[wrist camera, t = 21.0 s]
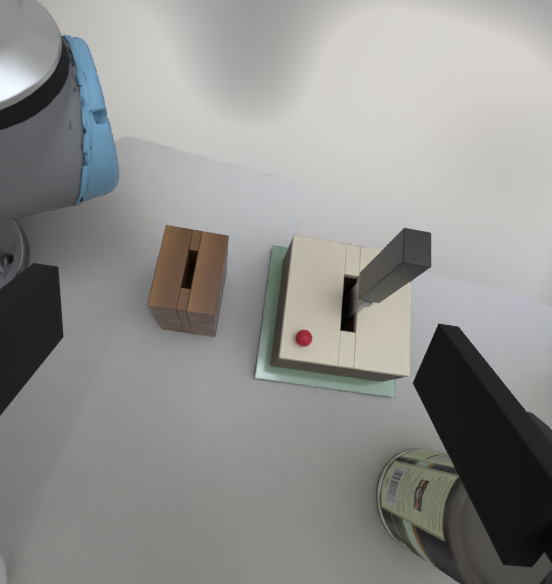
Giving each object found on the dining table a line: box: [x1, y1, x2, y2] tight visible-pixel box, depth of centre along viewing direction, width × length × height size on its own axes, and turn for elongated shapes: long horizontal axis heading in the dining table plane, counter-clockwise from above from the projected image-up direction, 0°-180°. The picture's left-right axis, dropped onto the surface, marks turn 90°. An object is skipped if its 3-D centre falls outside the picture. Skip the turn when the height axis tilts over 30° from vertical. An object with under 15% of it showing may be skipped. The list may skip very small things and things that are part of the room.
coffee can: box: [377, 449, 552, 584], centre depth 36 cm, size 10×10×14 cm
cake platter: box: [254, 246, 395, 398], centre depth 47 cm, size 16×16×1 cm
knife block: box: [147, 225, 229, 337], centre depth 41 cm, size 6×8×10 cm
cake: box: [270, 235, 411, 382], centre depth 43 cm, size 13×13×8 cm
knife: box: [340, 228, 431, 326], centre depth 37 cm, size 2×3×21 cm, turn 173°
